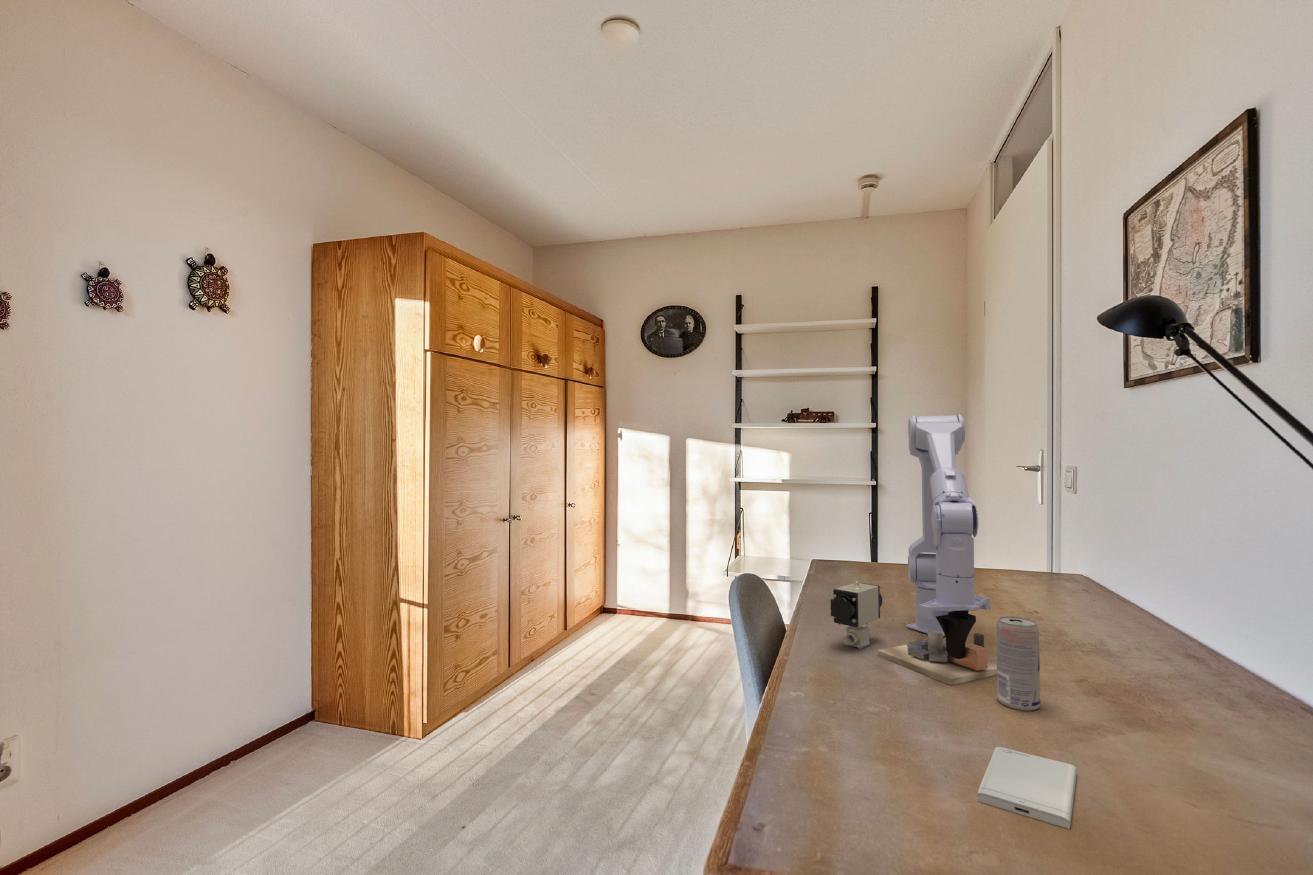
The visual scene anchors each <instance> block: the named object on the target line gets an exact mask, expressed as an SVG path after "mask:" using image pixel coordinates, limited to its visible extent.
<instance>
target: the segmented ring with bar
mask: <svg viewBox="0 0 1313 875" xmlns="http://www.w3.org/2000/svg"><path fill="white" fill-rule="evenodd" d="M924 641H925V642H924ZM906 645H907V649H908V653H911V655H913V656H916V657H919V658H921V659H928V658H929V661H939V662H947V660H948V661H950V662H954V663H957V664H960V665H963V666H965V667H968V668H971V669H974V670H977V671H978V670H982V669H986V668H988V659H987V656H988V648H987V647H985V646H984V647H981V646H978V645H975V644H974V643H971V642H968V641H966V643H965V654H964V658H962V659H956V658H953V657H950V656H948V654H947V649H946V643H943V651H945V652H944V653H938V652H930V651H927V650H924V649H928V639H927V640H926V639H925V640H922V639H921V640H920V639H919V640H914V641H913V640H912V641H909V642H908V643H906Z"/></svg>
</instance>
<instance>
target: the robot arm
mask: <svg viewBox="0 0 1313 875" xmlns="http://www.w3.org/2000/svg"><path fill="white" fill-rule="evenodd" d="M907 426H908V427H907V430H908V431H907V435H908V452H909V454H910V456H913V457H916V458H918V460H919V464H920V466H921V467H920V468H921V507H922V508H921V510H922V511H921V512H922V513H921V514H922V536H921V537H919V539H917V540H915V541H914V542H912V543H911V544H910V545H909V547H908V556H907V575H908V580H909V581H910V583H911V584H914V585H915V620H916V621H915V622H914V623H909V624H908V623H907V624H906V628H908V629H912V630H915V631H918V632H921V633H925V634H926V635H928V631H929V630H936V631H940V632H942V633H943V637H945V642H946V649H947V654H948V656H950V657H953V658H956V659H962V658H964V654H965V643H966V642H967V639H968V636H969V635H970V632H971V630H972V628H973V627H974V625H975V624H976V622H977V616H976V615H975V614H970V613H969V612H976V611H980V610H986V611H988V610H991V598H990V597H987V596H983V595H976V594H975V539H974V538H976V537H977V535H978V531H979V514H978V509H977V505H976V502H975V501H974V500H973V498H972V497H970V496H969V492H968V486H967V482H966V480H967V479H966V478H965V474H964V473H963V472H962V471H961V470H958V469H957V462H956V455H957V456H958V454H959V452H960V451H961V449H962V447H963V444H964V443H965V440H966V423H965V418H964V417H963V416H962V415H961V414H955V415H954V414H953V415H913V414H912V415H911V416H910V417H909V418H908V425H907Z"/></svg>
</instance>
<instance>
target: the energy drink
mask: <svg viewBox="0 0 1313 875" xmlns="http://www.w3.org/2000/svg"><path fill="white" fill-rule="evenodd" d="M995 627H996V658H997V675H996V676H997V678H996V681H997V682H996V683H997V699H998V701H999V702H1000V703H1001V704H1002V705H1003V706H1005V707H1008V708H1009V709H1013V710H1014V709H1015V710H1019V711H1023V712H1024V711H1025V712H1027V711H1028V712H1031V711H1037V710H1038V709H1039V708H1040V707H1041V669H1040V666H1041V664H1040V661H1041V660H1040V657H1041V656H1040V628H1039V626H1038V622H1037V621H1036V620H1033V619H1031V618H1026V617H1021V616H1015V615H1014V616H1013V615H1006V616H1003V615H1002V616H999V617H998V618H997V622H996V626H995Z"/></svg>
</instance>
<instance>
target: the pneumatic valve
mask: <svg viewBox="0 0 1313 875" xmlns="http://www.w3.org/2000/svg"><path fill="white" fill-rule="evenodd" d="M880 590H881V587H880V585H878V584H877V585H876V584H871V583H865V582H860V581H857V580H855V581H854V582H853V583H850V584H847V585H845V584H843V585H842V586H841V585H840V586H839V587H837V588H834V589H833V596H832V598H831V599H830V607H829V608H830V617H833V623H834V624H839V625H844V626H845V627H844V632H845V636H844V640H845V641H844V645H845V646H847V647H849V646H852V647H855V648H856V647H857V648H858V649H859V650H861V649H863V648H866V647H867V646H869V645H870V644H871V642H870V636H871V635H870V634H871V633H870V631H871V628H870V627H869V626H865V627H864V625H868V624H869V623H871V622H874V621H877V620H879V619H881V606H882V604H883V596H882V594H881V591H880Z"/></svg>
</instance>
